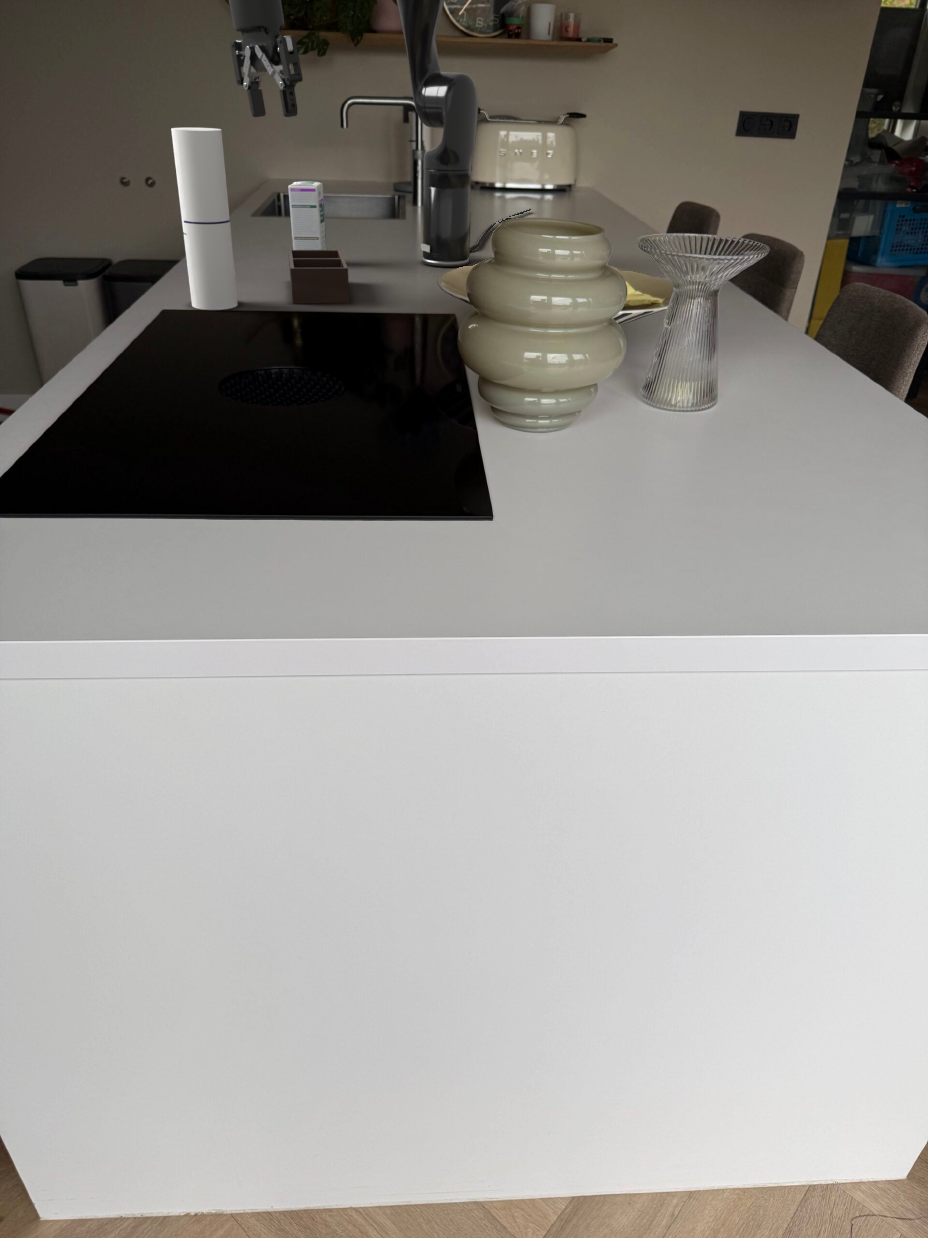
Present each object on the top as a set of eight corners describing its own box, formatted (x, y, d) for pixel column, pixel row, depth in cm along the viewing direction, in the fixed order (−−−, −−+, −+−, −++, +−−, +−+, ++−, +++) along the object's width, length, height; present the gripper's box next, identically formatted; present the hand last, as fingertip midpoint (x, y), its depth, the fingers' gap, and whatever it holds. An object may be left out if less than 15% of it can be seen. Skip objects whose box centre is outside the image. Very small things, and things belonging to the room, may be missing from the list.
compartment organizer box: (290, 282, 165) (288, 249, 162) (341, 281, 166) (340, 249, 163) (292, 303, 150) (290, 268, 147) (349, 303, 151) (347, 267, 148)
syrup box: (323, 266, 179) (319, 184, 171) (293, 265, 179) (287, 183, 171) (327, 261, 184) (323, 181, 176) (298, 260, 184) (293, 180, 176)
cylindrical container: (211, 311, 143) (192, 130, 130) (182, 304, 146) (160, 127, 134) (247, 304, 148) (231, 129, 135) (217, 298, 151) (200, 126, 139)
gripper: (302, -15, 132) (321, 113, 141) (247, -7, 141) (268, 113, 150) (260, -12, 128) (282, 119, 137) (205, -4, 136) (229, 119, 145)
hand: (274, 116), depth 143 cm, fingers open, 8 cm apart
